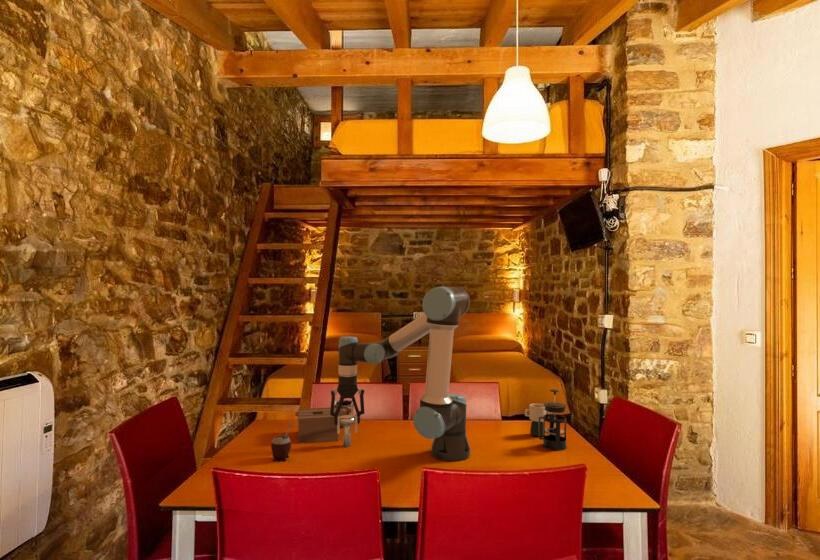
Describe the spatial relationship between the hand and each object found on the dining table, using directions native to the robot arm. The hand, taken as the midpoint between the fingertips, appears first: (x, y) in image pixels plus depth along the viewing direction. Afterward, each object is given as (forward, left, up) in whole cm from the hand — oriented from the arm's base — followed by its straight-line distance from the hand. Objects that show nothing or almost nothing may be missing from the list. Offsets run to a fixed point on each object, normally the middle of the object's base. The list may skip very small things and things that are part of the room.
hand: (347, 432), depth 194 cm
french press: (-18, -82, -6) cm, 84 cm away
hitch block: (+15, +11, -5) cm, 19 cm away
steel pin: (0, 0, -5) cm, 5 cm away
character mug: (-3, -83, -6) cm, 83 cm away
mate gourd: (-10, +25, -6) cm, 28 cm away
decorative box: (+35, -1, -6) cm, 35 cm away
